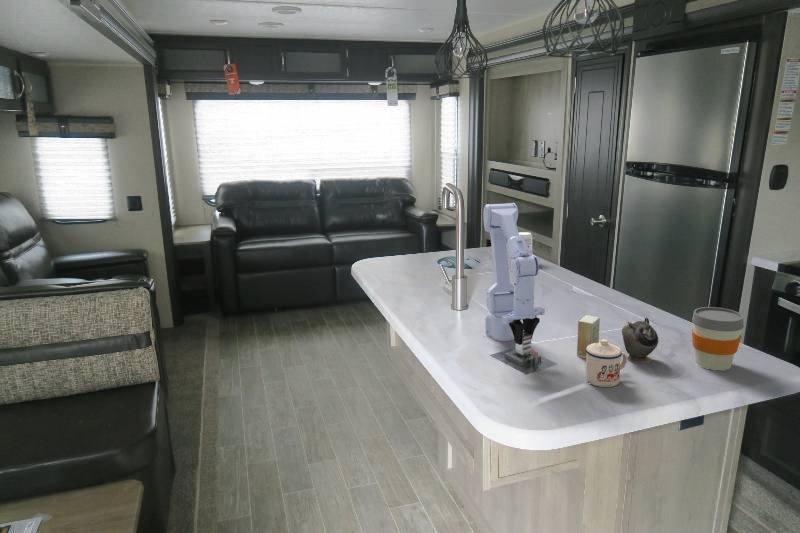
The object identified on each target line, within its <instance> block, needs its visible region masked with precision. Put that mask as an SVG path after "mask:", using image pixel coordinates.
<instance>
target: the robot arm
mask: <svg viewBox="0 0 800 533" xmlns="http://www.w3.org/2000/svg"><path fill="white" fill-rule="evenodd" d="M482 215H483V227H484V231H485V232H487V233H489V236H490V243H491V256H492V257H491V258H492V267H493V268H492V269H493V278H494V280H493V281H494V284H493V285H492V286H490V287H489V288H488V290H487V292H486V308H487V311H488V312H487V313H486V316H485V334H484V335H483V338H488V337H491V338H492V339H493V340H495V341H498V342H499V341H500V342H508V341H509V342H510V341H513V340H514V344H515V345H516V344H519V345H521V344H522V338H523V331H525V332H527V333H530V334H532V336H531V341H532V339H533V335H534V333H535V331H536V328H537V326H538V325H539V324H540V321H541V319H540V318H539V317H537V316H544V315H545V313H546V311H545V310H546V308H544V307H542V306H538V307H535V286H536V284H535V283H536V282H535V280H536V278H535V277H536V276H538V274H539V270H540V269H539V268H540V267H539V261H538V258H537V256H536V255H534V253H533V252H532V253H530V251H529V249H528V246H527V244H526V241H525V239H524V238H522V237H520V236H519V233H518V232H519V230H518V225H517V222H518V219H519V208H518V205H517V204H516V203H515V202H511V203H510V202H507V203H493V204H489V203H488V204H485V205H484V207H483V212H482ZM508 256H509V258H510V262H511V263H510V267H509V258H508ZM509 268H510V269H511V271H510V269H509ZM510 272H511V275H512V276H511V278H510ZM510 279H512V282H513V284H512V283H511V280H510ZM506 292H507V293H506Z"/></svg>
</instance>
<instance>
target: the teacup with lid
mask: <svg viewBox="0 0 800 533" xmlns="http://www.w3.org/2000/svg"><path fill="white" fill-rule="evenodd" d="M586 352H587V354H586V358H585V378H586V379H587V380H586V381H587V383H589V384H591V385H593V386H596V387H601V388H612V387H616V386H617V385H618V384H619V383H620V373H621V370H622V369H623V368H625V367H626V366H627V363H628V360H627V357H628V355H627V353H625V352H624V351H622V350H621V348H620V347H618V346H617V345H615V344H612V343H610V342H609V340H608V339H605V338H603V339H600V341H599V342H598V343H593V344H590V345H588V346H587V348H586ZM621 356H622V357H621Z"/></svg>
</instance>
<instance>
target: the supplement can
mask: <svg viewBox="0 0 800 533" xmlns="http://www.w3.org/2000/svg"><path fill="white" fill-rule="evenodd" d="M518 233H519V236H520V237H522V238H524V239H525V241H526V244H527V246H528V249H529V251H530V253H532V254H533V234H532V232H529V231H520V232H519V231H518Z"/></svg>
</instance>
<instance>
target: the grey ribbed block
mask: <svg viewBox="0 0 800 533" xmlns="http://www.w3.org/2000/svg"><path fill="white" fill-rule="evenodd" d="M531 336H532V334H530V333H527V332H525V331H523V338H522V344H521V345H519V344H516V343H515V344H514V348H515V347H516V349H515V351H516V352H517V353H519V354H521V355H525V354H529V353H531V351H532V350H531V349H532V347H531V346H532V340H531ZM532 337H533V336H532Z"/></svg>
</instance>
